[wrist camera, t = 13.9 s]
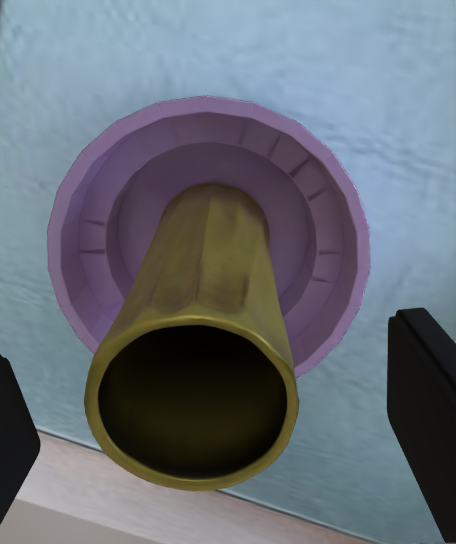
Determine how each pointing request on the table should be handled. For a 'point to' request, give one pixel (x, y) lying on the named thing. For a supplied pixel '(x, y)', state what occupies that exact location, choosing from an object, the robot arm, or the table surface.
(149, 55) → the table surface
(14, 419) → the robot arm
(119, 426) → the vase
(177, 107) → the bowl
